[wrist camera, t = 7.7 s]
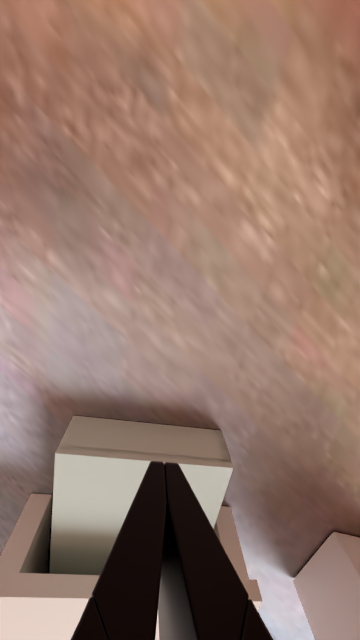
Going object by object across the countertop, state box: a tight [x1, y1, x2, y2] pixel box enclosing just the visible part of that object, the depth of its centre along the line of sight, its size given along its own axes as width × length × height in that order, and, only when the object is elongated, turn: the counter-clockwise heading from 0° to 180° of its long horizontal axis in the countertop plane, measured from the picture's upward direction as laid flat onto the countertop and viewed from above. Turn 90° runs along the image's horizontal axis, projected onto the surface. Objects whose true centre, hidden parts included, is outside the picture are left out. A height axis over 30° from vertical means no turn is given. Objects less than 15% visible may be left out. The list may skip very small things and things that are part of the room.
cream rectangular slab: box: [49, 415, 233, 575], centre depth 18 cm, size 16×10×3 cm, turn 169°
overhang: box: [0, 493, 263, 640], centre depth 18 cm, size 11×16×6 cm
